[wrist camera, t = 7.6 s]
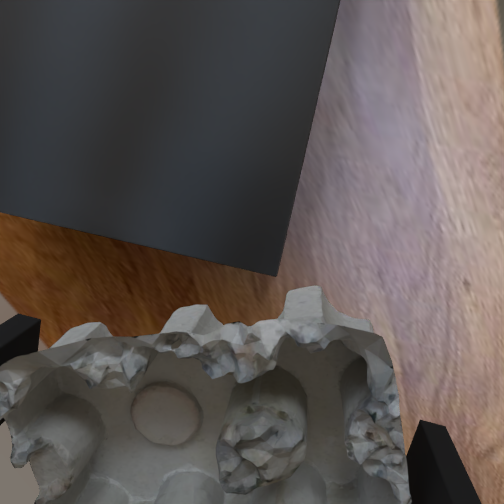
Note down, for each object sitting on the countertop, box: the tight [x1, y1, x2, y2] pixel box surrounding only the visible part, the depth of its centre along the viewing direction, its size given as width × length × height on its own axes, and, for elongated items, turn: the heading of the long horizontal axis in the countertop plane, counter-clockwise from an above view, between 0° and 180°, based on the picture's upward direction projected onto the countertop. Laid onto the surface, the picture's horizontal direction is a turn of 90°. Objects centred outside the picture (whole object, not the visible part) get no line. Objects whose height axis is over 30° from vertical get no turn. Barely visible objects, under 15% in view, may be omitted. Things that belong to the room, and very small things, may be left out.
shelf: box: [0, 0, 340, 277], centre depth 23 cm, size 16×18×6 cm
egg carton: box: [0, 286, 412, 504], centre depth 12 cm, size 11×8×4 cm
